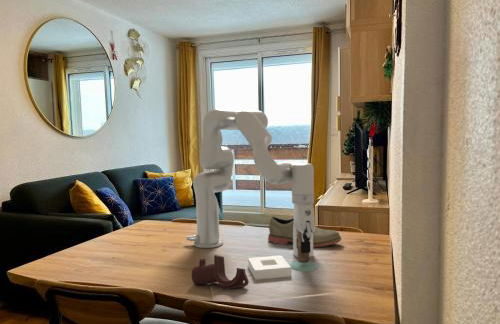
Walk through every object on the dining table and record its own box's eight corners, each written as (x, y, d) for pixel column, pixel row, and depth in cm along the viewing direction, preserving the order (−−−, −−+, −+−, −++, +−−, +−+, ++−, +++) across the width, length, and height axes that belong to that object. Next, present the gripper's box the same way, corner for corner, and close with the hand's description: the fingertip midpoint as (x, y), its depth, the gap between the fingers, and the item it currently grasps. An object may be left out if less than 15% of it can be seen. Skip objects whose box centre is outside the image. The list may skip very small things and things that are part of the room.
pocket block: (255, 281, 112) (254, 270, 112) (248, 267, 124) (248, 258, 124) (291, 277, 114) (291, 267, 114) (281, 264, 126) (281, 255, 126)
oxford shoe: (341, 249, 142) (341, 221, 142) (264, 245, 151) (264, 218, 150) (341, 242, 153) (341, 215, 152) (270, 238, 162) (269, 212, 161)
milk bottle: (313, 259, 132) (312, 206, 130) (292, 258, 133) (291, 206, 132) (313, 252, 139) (313, 202, 138) (294, 251, 141) (293, 202, 139)
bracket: (245, 285, 102) (241, 250, 106) (192, 292, 107) (190, 258, 110) (251, 285, 108) (247, 252, 111) (200, 292, 112) (198, 259, 116)
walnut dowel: (299, 263, 121) (299, 231, 120) (296, 259, 125) (295, 228, 124) (310, 262, 122) (310, 230, 121) (307, 258, 126) (306, 228, 125)
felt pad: (294, 273, 118) (294, 272, 118) (285, 263, 128) (285, 261, 128) (322, 271, 120) (322, 269, 120) (312, 261, 129) (312, 259, 129)
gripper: (322, 202, 115) (322, 257, 116) (305, 194, 131) (305, 243, 132) (300, 203, 113) (300, 259, 114) (285, 195, 130) (286, 244, 131)
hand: (303, 250), depth 123 cm, fingers closed on walnut dowel, 4 cm apart
